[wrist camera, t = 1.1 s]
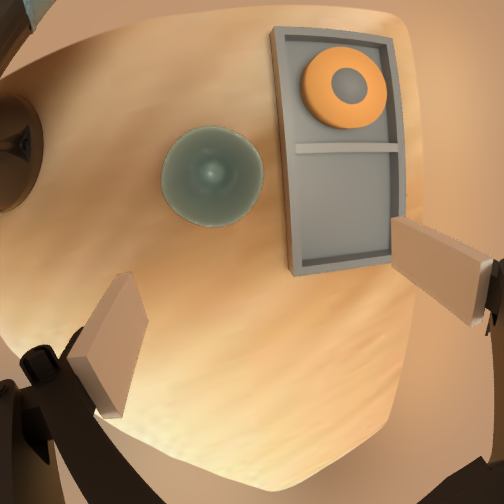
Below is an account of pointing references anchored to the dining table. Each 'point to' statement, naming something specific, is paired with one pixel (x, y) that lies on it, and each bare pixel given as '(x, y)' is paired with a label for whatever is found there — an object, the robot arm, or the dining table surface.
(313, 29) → the tray
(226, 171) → the cup
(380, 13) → the dining table surface
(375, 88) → the orange round thick disc
